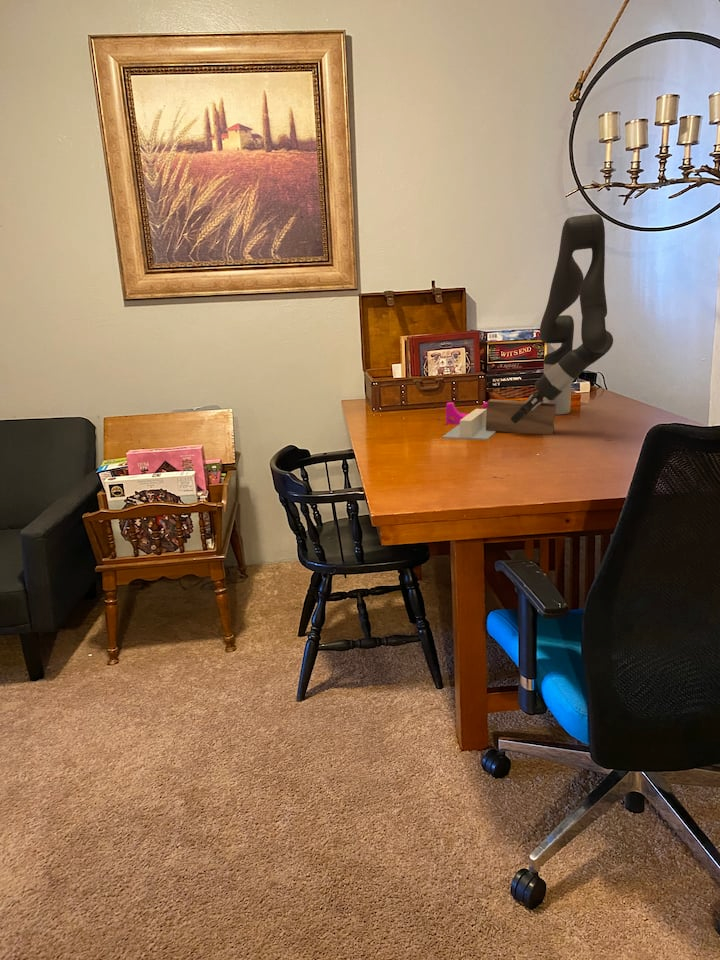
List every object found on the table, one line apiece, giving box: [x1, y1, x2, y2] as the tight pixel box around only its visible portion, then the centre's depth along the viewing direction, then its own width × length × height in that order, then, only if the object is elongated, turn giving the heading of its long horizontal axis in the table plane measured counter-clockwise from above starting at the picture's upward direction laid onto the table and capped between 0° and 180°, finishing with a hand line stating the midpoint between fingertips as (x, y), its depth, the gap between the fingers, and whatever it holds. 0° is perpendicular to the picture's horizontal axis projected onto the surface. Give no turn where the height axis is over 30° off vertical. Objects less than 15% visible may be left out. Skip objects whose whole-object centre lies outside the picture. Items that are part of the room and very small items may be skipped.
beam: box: [486, 398, 556, 435], centre depth 211 cm, size 4×20×9 cm, turn 67°
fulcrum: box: [441, 408, 498, 441], centre depth 216 cm, size 22×14×6 cm, turn 157°
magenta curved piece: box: [445, 401, 487, 426], centre depth 230 cm, size 15×6×8 cm, turn 74°
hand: (515, 418), depth 212 cm, fingers open, 7 cm apart
